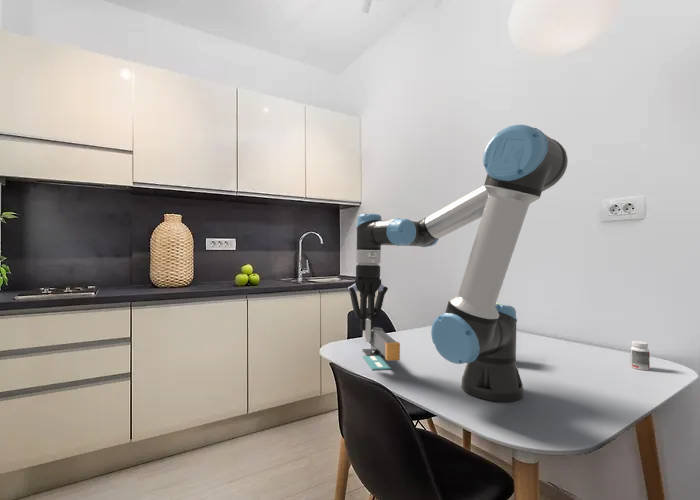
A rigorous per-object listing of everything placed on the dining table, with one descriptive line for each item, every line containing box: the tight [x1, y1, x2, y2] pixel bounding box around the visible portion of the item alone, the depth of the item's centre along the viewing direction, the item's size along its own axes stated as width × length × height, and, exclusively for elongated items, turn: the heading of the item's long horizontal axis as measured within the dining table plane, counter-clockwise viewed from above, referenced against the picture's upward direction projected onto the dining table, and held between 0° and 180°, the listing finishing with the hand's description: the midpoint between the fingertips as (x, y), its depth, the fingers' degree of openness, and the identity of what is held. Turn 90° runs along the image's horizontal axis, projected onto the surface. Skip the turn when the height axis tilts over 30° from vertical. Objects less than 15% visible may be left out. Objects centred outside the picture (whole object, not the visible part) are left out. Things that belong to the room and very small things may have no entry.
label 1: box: [362, 355, 385, 364], centre depth 121 cm, size 7×6×1 cm
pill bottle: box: [630, 340, 651, 371], centre depth 116 cm, size 5×5×8 cm
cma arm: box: [368, 326, 401, 362], centre depth 119 cm, size 24×5×5 cm, turn 10°
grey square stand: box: [362, 344, 385, 358], centre depth 129 cm, size 8×8×4 cm
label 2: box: [366, 360, 392, 371], centre depth 114 cm, size 7×6×1 cm
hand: (366, 340), depth 111 cm, fingers closed
